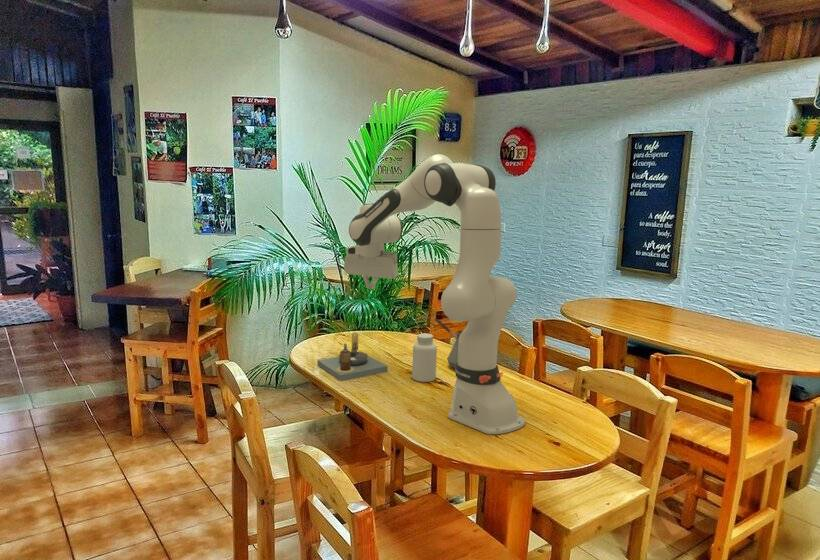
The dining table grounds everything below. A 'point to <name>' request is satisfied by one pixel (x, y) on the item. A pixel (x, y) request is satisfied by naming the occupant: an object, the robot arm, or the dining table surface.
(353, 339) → the dial
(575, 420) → the dining table surface
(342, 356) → the brown bottle
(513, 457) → the dining table surface
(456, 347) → the coffee pot
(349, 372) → the board
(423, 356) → the pill bottle
